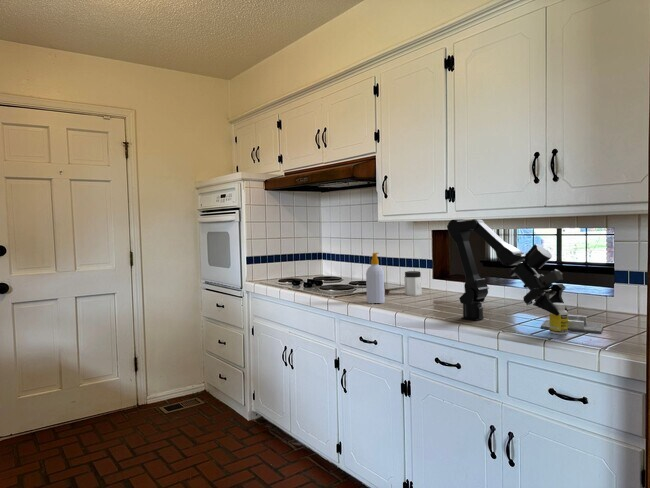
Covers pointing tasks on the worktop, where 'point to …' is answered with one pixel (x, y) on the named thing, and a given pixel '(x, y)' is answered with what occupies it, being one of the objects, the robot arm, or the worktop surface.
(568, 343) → the worktop surface
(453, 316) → the worktop surface
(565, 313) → the supplement bottle
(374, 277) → the soap bottle
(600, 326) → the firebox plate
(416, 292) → the jar
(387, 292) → the cup and saucer
